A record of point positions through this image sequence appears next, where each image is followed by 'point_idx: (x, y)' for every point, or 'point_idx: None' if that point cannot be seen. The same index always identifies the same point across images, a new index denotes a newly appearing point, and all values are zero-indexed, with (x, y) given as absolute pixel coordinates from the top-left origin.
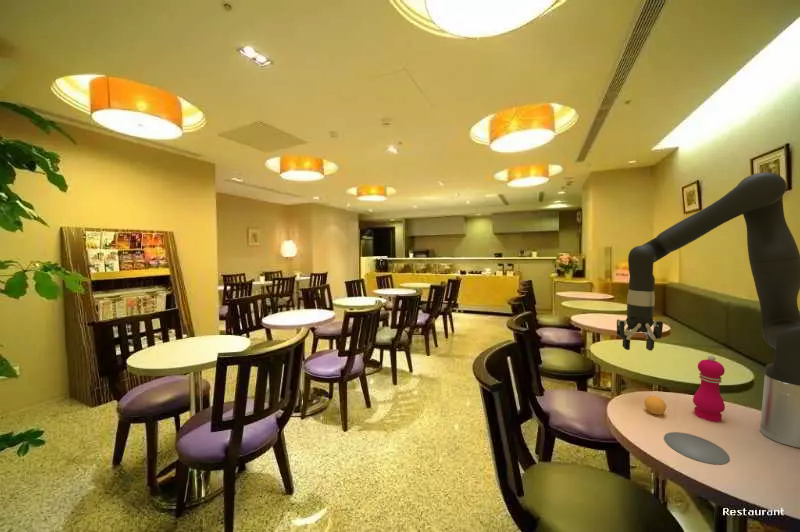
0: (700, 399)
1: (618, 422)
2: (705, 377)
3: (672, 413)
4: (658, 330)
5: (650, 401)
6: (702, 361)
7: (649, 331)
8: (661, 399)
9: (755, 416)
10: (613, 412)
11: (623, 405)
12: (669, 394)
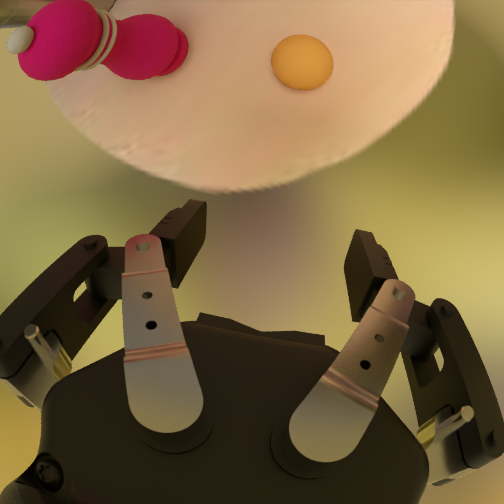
0: (164, 32)
1: (439, 56)
2: (107, 19)
3: (246, 60)
4: (59, 289)
5: (328, 55)
6: (55, 39)
7: (159, 300)
8: (287, 49)
9: (68, 74)
10: (420, 95)
11: (363, 119)
12: (166, 168)
